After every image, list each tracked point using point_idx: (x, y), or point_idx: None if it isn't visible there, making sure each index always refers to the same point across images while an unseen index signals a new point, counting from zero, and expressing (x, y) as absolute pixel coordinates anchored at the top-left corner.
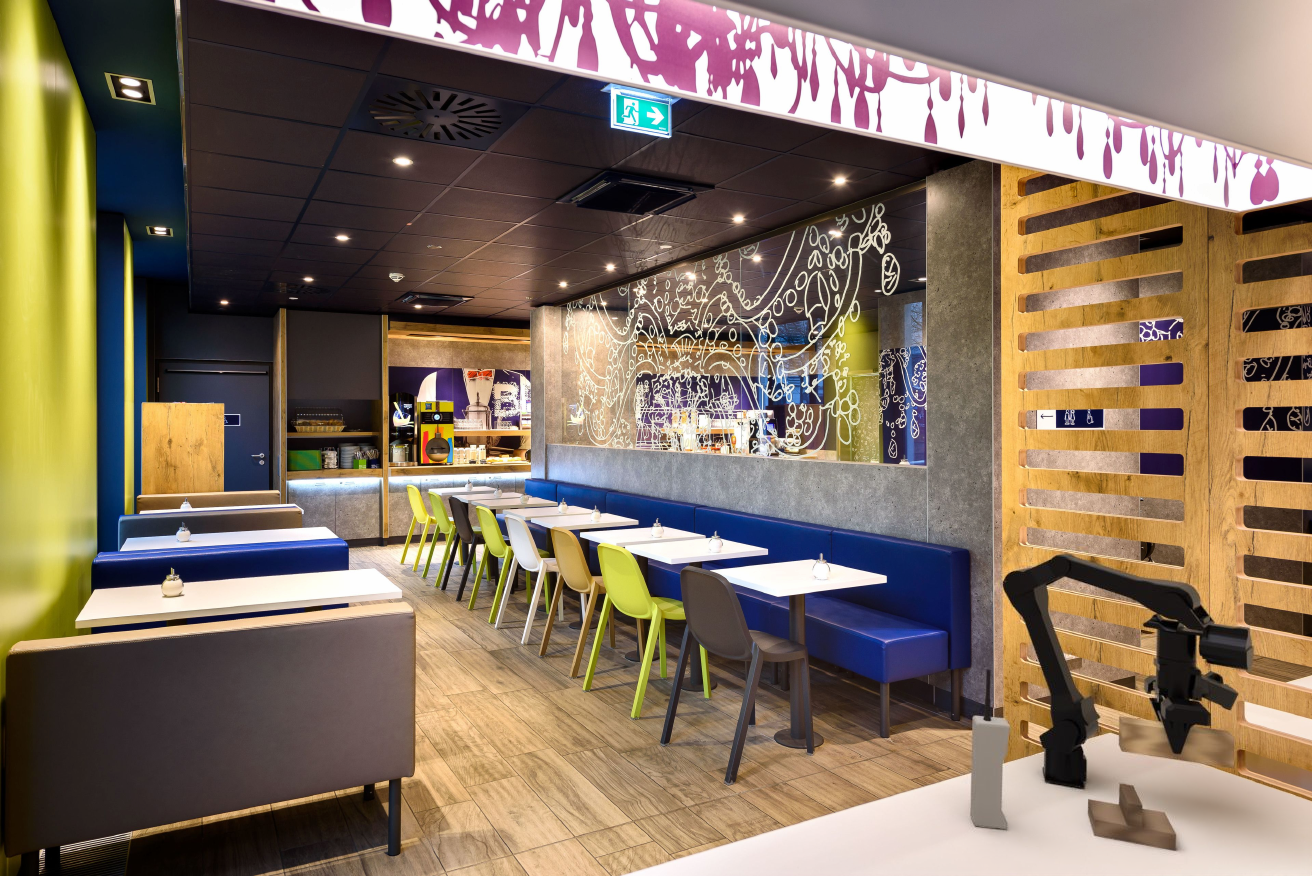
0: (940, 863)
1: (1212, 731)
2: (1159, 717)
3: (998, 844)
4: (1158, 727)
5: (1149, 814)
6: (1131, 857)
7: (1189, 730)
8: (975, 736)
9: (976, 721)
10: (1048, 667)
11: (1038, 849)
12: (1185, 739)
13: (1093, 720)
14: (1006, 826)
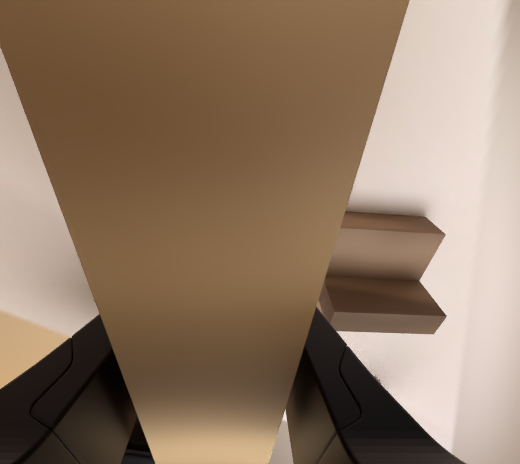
0: (452, 411)
1: (187, 155)
2: (116, 461)
3: (413, 383)
4: (273, 444)
5: (353, 257)
6: (447, 281)
7: (401, 406)
8: None
9: None
10: None
11: (423, 359)
12: (336, 334)
13: (129, 457)
14: (380, 383)
